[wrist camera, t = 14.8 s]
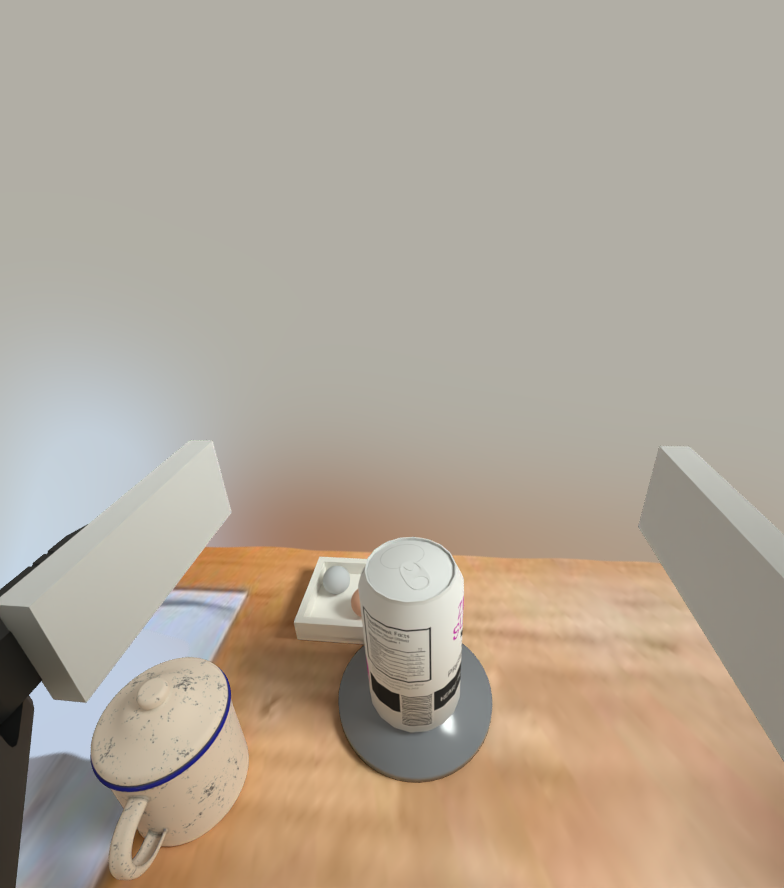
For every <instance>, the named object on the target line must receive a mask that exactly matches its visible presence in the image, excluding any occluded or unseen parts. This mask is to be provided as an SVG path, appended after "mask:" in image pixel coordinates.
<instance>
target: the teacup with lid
mask: <svg viewBox="0 0 784 888" xmlns="http://www.w3.org/2000/svg"><path fill="white" fill-rule="evenodd" d="M248 764H249V754H248V747H247V744H246V741H245V738H244V735H243V732H242V729H241V726H240V724H239V721H238V718H237V715H236V712H235V709H234V706H233V704H232V701H231V690H230V685H229V682H228V679H227V677H226V675H225V674H224V672H223V671H222V670H221V669H220V668H219V667H217V666H216V665H215V664H213V663H211V662H209V661H207V660H204V659H200V658H194V657H185V658H178V659H173V660H169V661H166V662H163V663H160V664H158V665H156V666H154V667H152V668H150V669H148V670H146V671H145V672H143V673H141V674H140V675H138V676H137V677H136V678H134V679H133V680H132V681H130V682H129V683H128V684H127V685H126V686H125V687H124V688H122V689H121V690H120V691H119V692H118V694H117V695H116V696H115V697H114V698H113V699H112V701H111V702H110V703H109V704H108V706H107V707H106V709H105V710H104V712H103V713H102V715H101V717H100V719H99V721H98V723H97V725H96V728H95V731H94V734H93V737H92V742H91V765H92V769H93V771H94V773H95V775H96V777H97V778H98V779H99V781H100V782H101V783H102V784H104V785H105V786H107V787H108V788H110V789H111V790H112V792H113V793H114V795H115V796H116V798H117V799H118V801H119V802H120V804H121V805H122V807H123V808H124V810H123V812H122V814H121V816H120V818H119V821H118V823H117V825H116V828H115V831H114V834H113V837H112V841H111V845H110V851H109V869H110V872H111V874H112V875H113V877H114V878H116V879H118V880H133V879H136V878H138V877H139V876H141V875H142V874H143V873H144V872H145V871H146V870H147V869H148V868H149V867H150V865H151V864H152V862H153V861H154V859H155V857H156V855H157V853H158V851H159V849H160V847H161V846H177V845H181V844H185V843H188V842H190V841H193V840H195V839H197V838H199V837H200V836H202V835H203V834H205V833H206V832H208V831H209V830H210V829H212V828H213V827H214V826H215V825H216V824H217V823H218V822H219V821H220V820H221V819H222V818H223V817H224V816H225V815H226V814H227V813H228V811H229V810H230V809H231V807H232V806H233V804H234V803H235V801H236V799H237V798H238V796H239V794H240V792H241V790H242V787H243V785H244V782H245V779H246V776H247V771H248ZM136 829H137V830H138V831H139V833H140V834H141V835H142V836H143V837H144V838H145V839H144V841H143V843H142V845H141V847H140V849H139V851H138V853H137V854H136V856H135V857H134V858H133V859H132V854H131V853H132V845H133V840H134V836H135V832H136Z"/></svg>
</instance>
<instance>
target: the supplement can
mask: <svg viewBox="0 0 784 888" xmlns="http://www.w3.org/2000/svg"><path fill="white" fill-rule="evenodd" d="M358 590H359V598H360V607H361V616H362V625H363V634H364V643H365V652H366V661H367V670H368V679H369V687H370V693H371V699H372V704H373V705H374V707H375V709H376V710H377V712H378V713H379V715H380V717H381V718H382V719H384V720H385V721H386V722H388V723H389V724H390V725H392V726H393V727H394V728H397V729H401V730H404V731H407V732H423V731H429V730H431V729H433V728H435V727H438V726H440V725H442V724H443V723H444V722H445V721H446V720H447V719H448V718H449V717H450V716H451V715H452V714H453V712H454V711H455V708H456V706H457V703H458V700H459V698H460V678H461V653H462V627H463V601H464V580H463V576H462V574H461V572H460V570H459V568H458V566H457V565H456V563H455V561H454V559H453V557H452V555H451V553H450V552H449V551H447V549H445V548H444V547H443V546H442V545H441V544H438V543H436V542H433V541H431V540H429V539H423V538H418V537H407V538H398V539H394V540H391V541H388V542H385V543H384V544H382V545H381V546H379V547H378V548H376V549H375V550H374V551H373V552H372V554H371V555H370V556H369V557H368V559H367V562H366V565H365V567H364V569H363V570H362V572H361V576H360V580H359V583H358Z"/></svg>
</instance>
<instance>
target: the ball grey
mask: <svg viewBox="0 0 784 888" xmlns="http://www.w3.org/2000/svg"><path fill="white" fill-rule="evenodd" d="M349 584H350V575H349V573H348V571H347V570H346V569H345V568H344V567H342V566H332V567H330V568H329V569H328V570H327V571H326V572H325V573H324V576H323V585H324V587H325V589H326V590H327V591H328V592H329V593H332V594H340V593H343V592H344V591H345V590H346V589H347V588H348V586H349Z"/></svg>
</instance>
